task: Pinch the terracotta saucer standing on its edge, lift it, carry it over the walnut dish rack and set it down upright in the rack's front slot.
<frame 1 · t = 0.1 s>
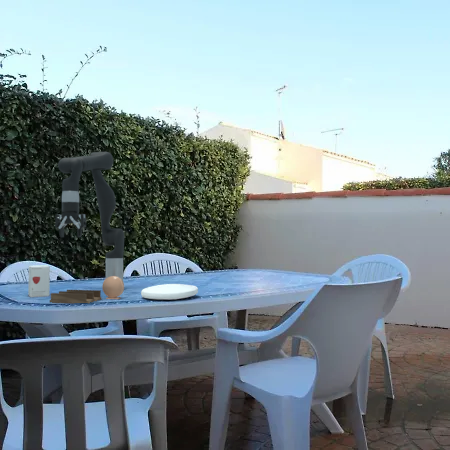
hand: (70, 237, 219), 29 cm above the table, fingers open, 8 cm apart
supplement box: (38, 296, 239), on the table
dish rack: (76, 301, 220), on the table
plate: (169, 298, 231), on the table
saucer: (113, 298, 228), on the table
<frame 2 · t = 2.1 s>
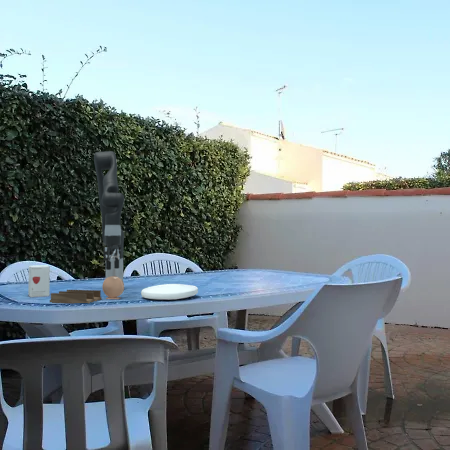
hand: (112, 269, 228), 14 cm above the table, fingers open, 8 cm apart
nothing on the table moved.
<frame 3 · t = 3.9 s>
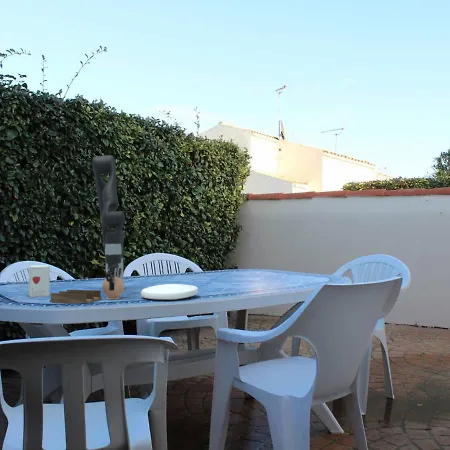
hand: (113, 289, 228), 4 cm above the table, fingers closed on saucer, 2 cm apart
saucer: (113, 298, 228), on the table, touching gripper
everything else where it was.
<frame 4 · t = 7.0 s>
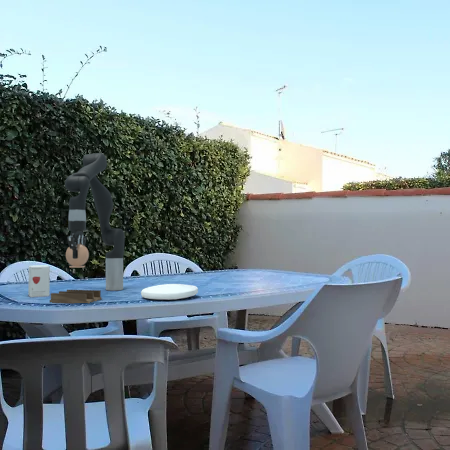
hand: (76, 258, 218), 20 cm above the table, fingers closed on saucer, 2 cm apart
saucer: (77, 267, 218), point 16 cm above the table, touching gripper
everything else where it was.
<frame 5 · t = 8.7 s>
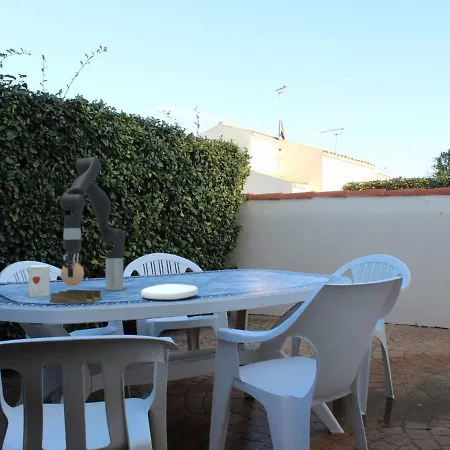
hand: (72, 276, 217), 11 cm above the table, fingers closed on saucer, 2 cm apart
saucer: (72, 285, 217), point 7 cm above the table, touching gripper
everything else where it was.
when the fingers open (7 cm above the table, at t = 10.2 s): saucer drops 2 cm, resting on dish rack.
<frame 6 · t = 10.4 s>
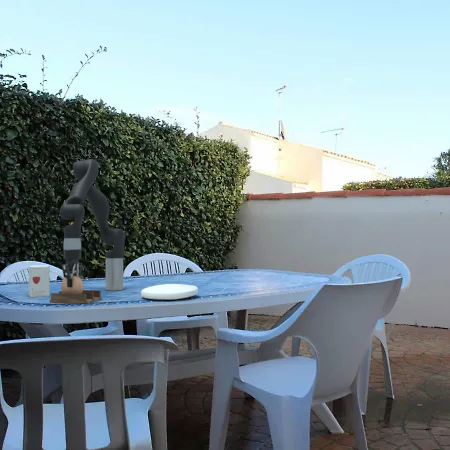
hand: (72, 286, 217), 7 cm above the table, fingers open, 4 cm apart
saucer: (72, 299, 217), point 1 cm above the table, touching dish rack
everything else where it was.
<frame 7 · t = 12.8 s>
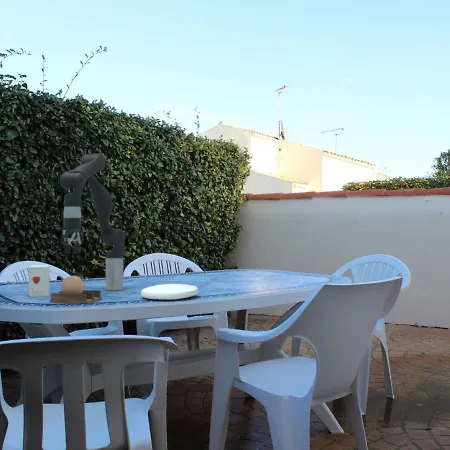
hand: (72, 253, 217), 22 cm above the table, fingers open, 8 cm apart
nothing on the table moved.
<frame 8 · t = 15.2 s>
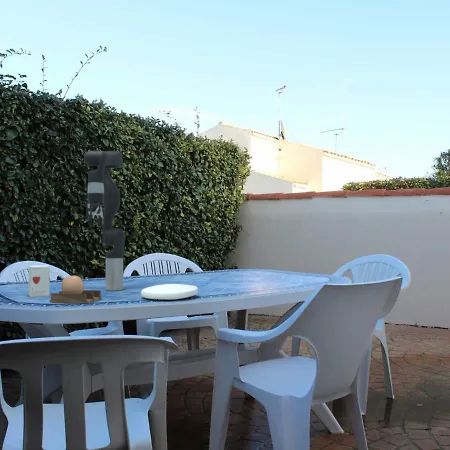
hand: (95, 226, 230), 34 cm above the table, fingers open, 8 cm apart
nothing on the table moved.
at the end: saucer inside the target area on the dish rack (0.2 cm from its centre), point 1.2 cm above the dish rack's base; saucer tilted 0°; the gripper is holding nothing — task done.
